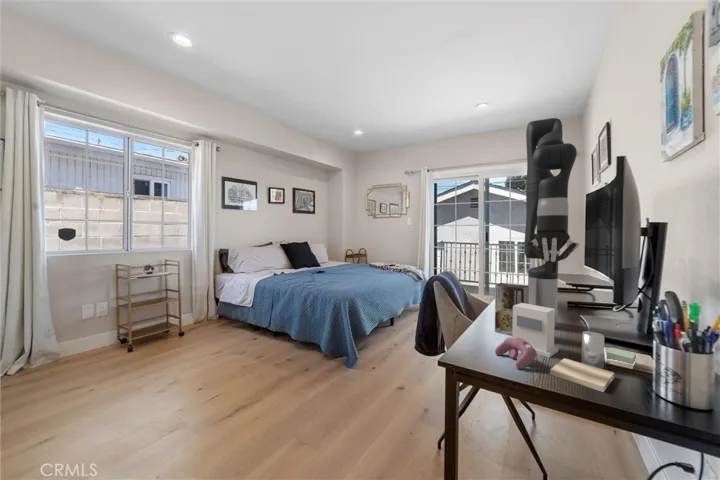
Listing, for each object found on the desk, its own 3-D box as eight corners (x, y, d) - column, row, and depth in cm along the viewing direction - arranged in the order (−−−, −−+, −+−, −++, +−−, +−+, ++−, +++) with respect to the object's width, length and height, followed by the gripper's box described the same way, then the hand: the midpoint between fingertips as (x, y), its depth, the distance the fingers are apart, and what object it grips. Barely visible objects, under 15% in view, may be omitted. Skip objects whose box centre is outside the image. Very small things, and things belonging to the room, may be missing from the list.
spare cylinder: (584, 360, 78) (585, 330, 78) (605, 365, 75) (606, 334, 75) (579, 364, 75) (580, 333, 75) (601, 371, 72) (601, 338, 72)
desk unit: (518, 339, 92) (519, 301, 92) (558, 351, 84) (559, 309, 84) (507, 345, 88) (508, 305, 88) (549, 357, 79) (550, 313, 79)
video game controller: (531, 375, 73) (543, 349, 73) (516, 368, 72) (528, 342, 72) (505, 358, 82) (516, 335, 83) (492, 352, 82) (503, 329, 82)
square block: (610, 358, 80) (611, 347, 80) (635, 364, 76) (636, 353, 76) (606, 363, 77) (606, 352, 77) (632, 370, 73) (632, 358, 73)
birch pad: (564, 362, 76) (564, 358, 76) (614, 377, 69) (614, 372, 69) (550, 374, 70) (550, 369, 70) (603, 392, 62) (603, 386, 62)
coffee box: (528, 333, 99) (529, 285, 98) (523, 338, 94) (524, 288, 93) (499, 327, 105) (500, 282, 104) (493, 331, 100) (494, 284, 100)
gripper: (584, 214, 82) (582, 276, 83) (532, 216, 93) (531, 271, 93) (576, 213, 78) (574, 278, 78) (522, 215, 88) (521, 273, 88)
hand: (551, 274), depth 86 cm, fingers closed
